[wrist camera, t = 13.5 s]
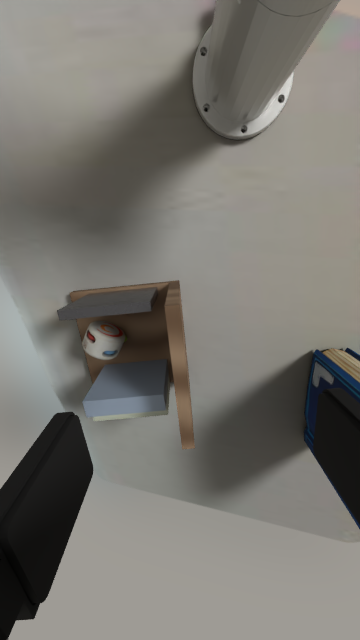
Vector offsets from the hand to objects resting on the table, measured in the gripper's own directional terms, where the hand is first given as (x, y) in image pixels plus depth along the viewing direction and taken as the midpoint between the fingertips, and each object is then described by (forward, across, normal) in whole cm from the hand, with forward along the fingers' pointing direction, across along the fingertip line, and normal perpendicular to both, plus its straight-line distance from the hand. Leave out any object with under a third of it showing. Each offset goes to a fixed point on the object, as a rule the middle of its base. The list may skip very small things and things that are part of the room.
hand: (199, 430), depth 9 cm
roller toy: (+29, +13, +6) cm, 32 cm away
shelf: (+30, +10, +8) cm, 33 cm away
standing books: (+29, +9, +14) cm, 33 cm away
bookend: (+29, +10, -1) cm, 30 cm away
